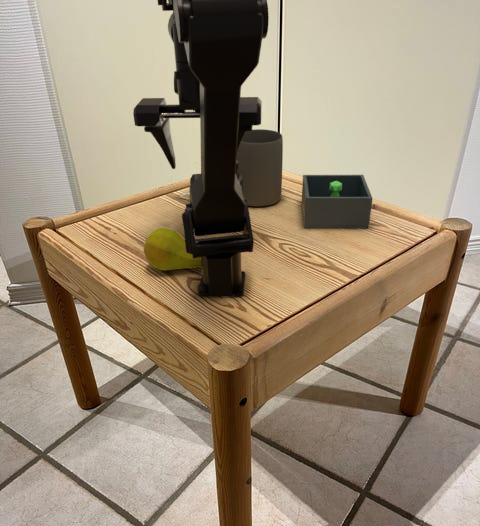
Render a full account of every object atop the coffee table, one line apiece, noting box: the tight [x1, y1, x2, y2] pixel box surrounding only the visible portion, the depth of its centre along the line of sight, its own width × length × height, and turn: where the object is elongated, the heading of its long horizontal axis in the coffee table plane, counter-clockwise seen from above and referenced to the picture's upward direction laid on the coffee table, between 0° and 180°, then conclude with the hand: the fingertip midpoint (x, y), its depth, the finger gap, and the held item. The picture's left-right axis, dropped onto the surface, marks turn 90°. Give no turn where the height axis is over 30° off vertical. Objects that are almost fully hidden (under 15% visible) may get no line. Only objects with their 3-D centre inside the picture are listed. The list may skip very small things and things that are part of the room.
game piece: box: [329, 181, 342, 197], centre depth 92 cm, size 4×4×6 cm
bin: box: [301, 174, 373, 229], centre depth 93 cm, size 11×11×6 cm
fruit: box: [143, 226, 202, 271], centre depth 79 cm, size 6×6×12 cm
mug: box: [236, 128, 284, 207], centre depth 97 cm, size 14×9×12 cm
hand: (202, 168), depth 82 cm, fingers open, 9 cm apart
